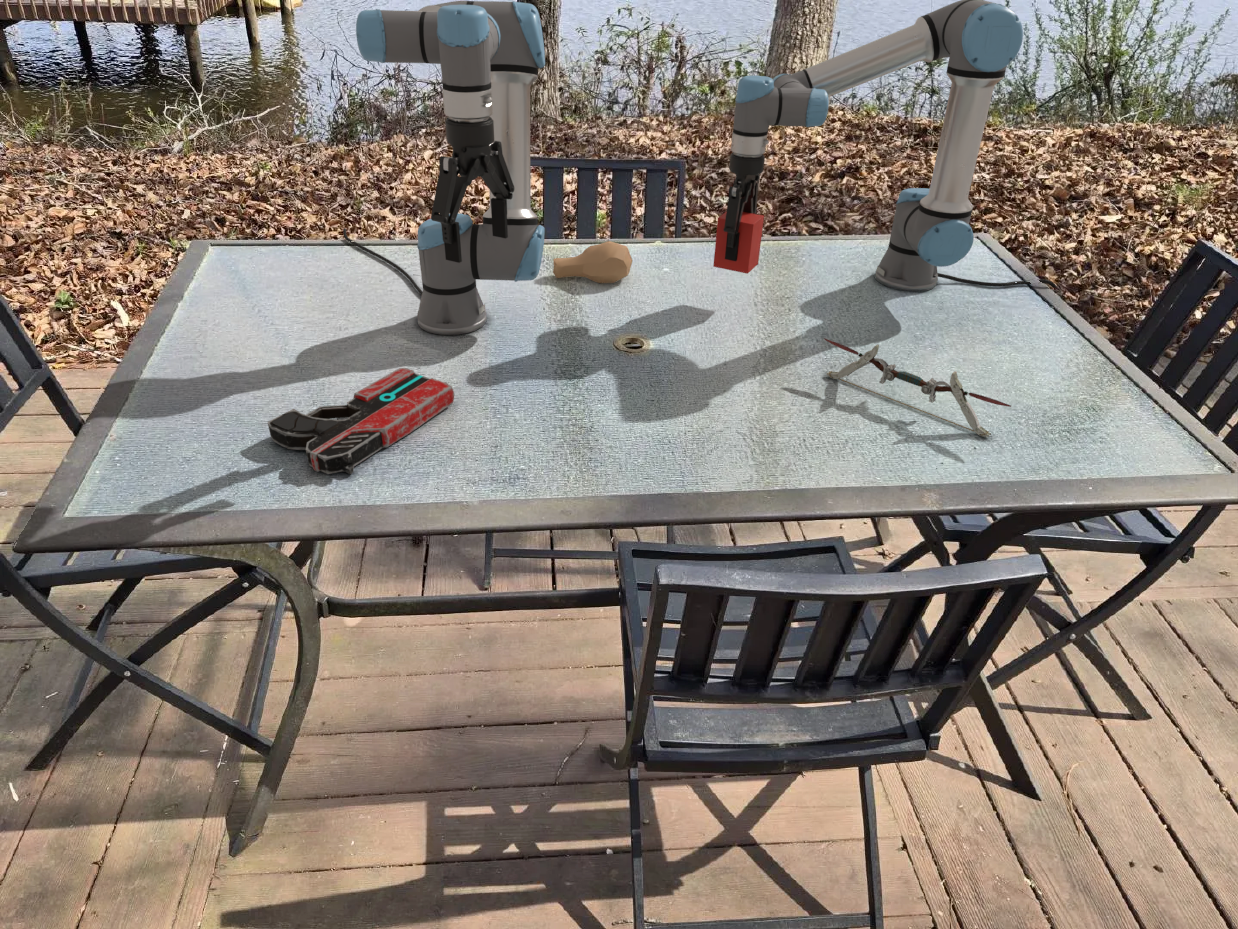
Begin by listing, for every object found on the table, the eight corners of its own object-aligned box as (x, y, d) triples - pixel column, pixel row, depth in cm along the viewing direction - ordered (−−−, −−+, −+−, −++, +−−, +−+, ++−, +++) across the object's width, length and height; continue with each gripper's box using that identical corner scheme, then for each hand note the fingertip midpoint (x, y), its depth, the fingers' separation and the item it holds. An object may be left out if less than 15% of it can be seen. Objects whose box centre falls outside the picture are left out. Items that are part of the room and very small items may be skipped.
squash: (634, 287, 216) (630, 255, 210) (554, 294, 218) (548, 263, 212) (634, 264, 224) (630, 232, 218) (556, 271, 226) (551, 240, 220)
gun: (253, 426, 149) (335, 462, 141) (381, 354, 171) (459, 383, 163) (258, 448, 152) (340, 485, 144) (384, 375, 174) (460, 403, 166)
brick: (747, 273, 201) (753, 224, 195) (713, 266, 204) (717, 217, 198) (758, 263, 207) (764, 215, 200) (724, 257, 210) (729, 209, 203)
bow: (1002, 440, 160) (1018, 392, 155) (998, 443, 159) (1013, 395, 153) (820, 369, 181) (828, 325, 176) (815, 372, 180) (823, 328, 175)
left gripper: (439, 136, 126) (451, 276, 138) (532, 105, 145) (535, 231, 157) (398, 129, 129) (413, 267, 141) (494, 100, 148) (500, 223, 160)
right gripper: (748, 166, 183) (736, 271, 195) (778, 145, 198) (766, 244, 210) (714, 161, 185) (705, 264, 198) (747, 141, 200) (737, 238, 213)
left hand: (477, 248), depth 149 cm, fingers open, 13 cm apart
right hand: (736, 254), depth 204 cm, fingers closed on brick, 7 cm apart
